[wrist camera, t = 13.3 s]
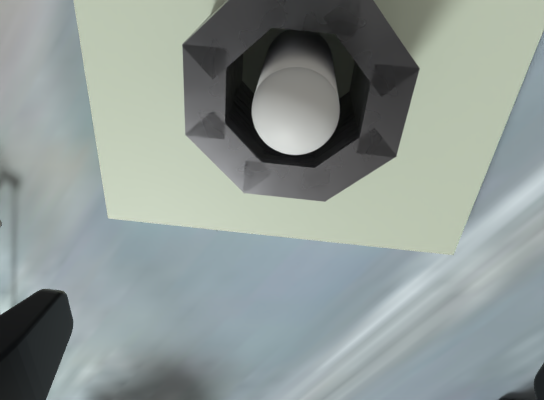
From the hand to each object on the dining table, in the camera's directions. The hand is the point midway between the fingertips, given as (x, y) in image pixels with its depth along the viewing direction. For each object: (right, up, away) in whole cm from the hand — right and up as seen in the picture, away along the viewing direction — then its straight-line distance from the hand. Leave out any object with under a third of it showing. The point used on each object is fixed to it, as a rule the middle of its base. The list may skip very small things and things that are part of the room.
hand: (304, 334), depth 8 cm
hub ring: (0, +7, +8) cm, 11 cm away
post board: (0, +8, +9) cm, 12 cm away
